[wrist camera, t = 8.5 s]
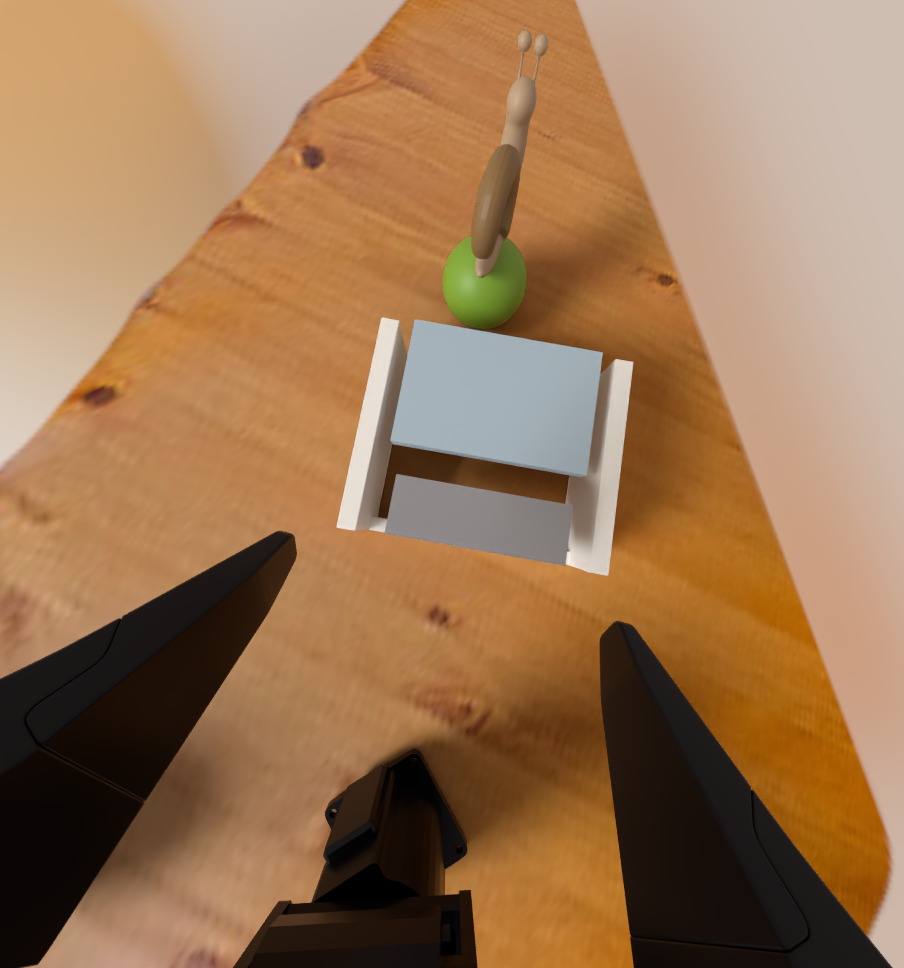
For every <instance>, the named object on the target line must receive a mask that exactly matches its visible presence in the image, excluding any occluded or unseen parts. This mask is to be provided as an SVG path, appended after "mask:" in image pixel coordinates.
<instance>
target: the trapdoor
mask: <svg viewBox="0 0 904 968" xmlns="http://www.w3.org/2000/svg"><path fill="white" fill-rule="evenodd" d="M602 355H603V352H598V351H592V350H586V349H581V348H575V347H569V346H564V345H558V344H552V343H547V342H541V341H535V340H530V339H524V338H518V337H513V336H507V335H501V334H496V333H490V332H484V331H479V330H473V329H467V328H462V327H456V326H450V325H445V324H439V323H433V322H428V321H422V320H416V319H415V321H414V326H413V331H412V336H411V341H410V346H409V351H408V356H407V361H406V366H405V371H404V375H403V380H402V385H401V390H400V395H399V400H398V405H397V410H396V415H395V420H394V425H393V430H392V435H391V439H390V441H391V442H392V444H396V445H401V446H407V447H412V448H418V449H424V450H429V451H435V452H441V453H446V454H452V455H458V456H463V457H469V458H474V459H480V460H486V461H491V462H497V463H503V464H508V465H514V466H520V467H525V468H531V469H536V470H542V471H548V472H553V473H559V474H565V475H570V476H576V477H583V476H586V475H587V471H588V463H589V455H590V448H591V440H592V432H593V424H594V417H595V409H596V401H597V394H598V386H599V378H600V371H601V363H602ZM572 512H573V505H568V504H563V503H557V502H552V501H546V500H540V499H535V498H529V497H523V496H518V495H512V494H507V493H501V492H495V491H490V490H484V489H478V488H473V487H467V486H462V485H456V484H450V483H445V482H439V481H433V480H428V479H422V478H416V477H411V476H405V475H400V474H396V478H395V483H394V488H393V493H392V498H391V503H390V508H389V513H388V518H387V523H386V528H385V533H384V534H390V535H396V536H401V537H407V538H412V539H418V540H424V541H429V542H435V543H441V544H446V545H452V546H457V547H463V548H469V549H474V550H480V551H485V552H491V553H497V554H502V555H508V556H514V557H519V558H525V559H530V560H536V561H542V562H547V563H553V564H558V565H564V566H565V564H566V557H567V549H568V542H569V534H570V527H571V519H572Z"/></svg>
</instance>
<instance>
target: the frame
mask: <svg viewBox="0 0 904 968" xmlns="http://www.w3.org/2000/svg"><path fill="white" fill-rule="evenodd" d="M406 361H407V353H406V348H405V344H404V340H403V335H402V331H401V327H400V323H399V320H393V319H387V318H382V319H381V323H380V328H379V332H378V337H377V342H376V346H375V351H374V356H373V360H372V365H371V369H370V374H369V379H368V383H367V388H366V393H365V397H364V402H363V406H362V411H361V416H360V420H359V425H358V430H357V434H356V439H355V444H354V448H353V453H352V457H351V462H350V467H349V471H348V476H347V481H346V485H345V490H344V494H343V499H342V504H341V508H340V513H339V518H338V522H337V528H343V529H349V530H354V531H357V530H367V529H369V530H375V531H380V532H385V528H386V523H387V519H386V518H380V517H378V513H379V508H380V503H381V498H382V493H383V488H384V483H385V478H386V473H387V468H388V463H389V458H390V454H391V449H392V442H391V441H390V439H391V435H392V430H393V425H394V420H395V415H396V410H397V405H398V400H399V395H400V390H401V385H402V380H403V375H404V371H405V366H406ZM632 369H633V362H631V361H625V360H619V359H615V360H614V361H613V362H612V363H611V364H610V365H609V366H608V367H607V368H606V369H605V370H604V371H603V372H602V373H601V374H600V378H599V386H598V394H597V401H596V409H595V417H594V424H593V432H592V440H591V448H590V455H589V463H588V471H587V475H586V476H583V477H576V476H570V475H569V480H568V488H567V495H566V502H565V504H568V505H573V512H572V519H571V527H570V534H569V542H568V549H567V557H566V564H565V565H570V566H573V567H575V568H578V569H581V570H584V571H587V572H590V573H596V574H601V575H607V576H608V572H609V564H610V556H611V547H612V539H613V530H614V522H615V513H616V505H617V496H618V488H619V479H620V471H621V462H622V454H623V445H624V437H625V429H626V420H627V412H628V403H629V395H630V386H631V378H632Z"/></svg>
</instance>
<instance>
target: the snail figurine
mask: <svg viewBox="0 0 904 968" xmlns="http://www.w3.org/2000/svg"><path fill="white" fill-rule="evenodd" d="M531 43H532V36H531V33H530V32H529V31H528V30H524V31H522V32H521V34H520V36H519V39H518V47H519V50H520V51H521V52H522V56H521V63H520V69H519V74H518V78H517V80H516V81H515V82H514V84H513V85H512V87H511V89H510V91H509V94H508V99H507V117H506V123H505V127H504V131H503V136H502V140H501V145H500V147H498V148H497V149H496V150H495V152H494V153H493V154H492V156H491V158H490V160H489V163H488V165H487V168H486V170H485V172H484V174H483V177H482V179H481V183H480V186H479V190H478V194H477V198H476V203H475V208H474V213H473V219H472V229H471V235H470V236H468V237H467V238H465V239H464V240H462V241H461V242H460V243H459V244H458V245H457V246H456V247H455V248H454V250H453V251H452V253H451V254H450V256H449V258H448V260H447V263H446V266H445V269H444V274H443V292H444V296H445V300H446V303H447V305H448V307H449V309H450V311H451V312H452V314H453V315H454V316H455V317H456V318H457V319H458V320H459V321H460V322H461V323H463V324H465V325H466V326H469V327H471V328H475V329H491V328H494V327H497V326H499V325H501V324H503V323H504V322H506V321H507V320H508V319H510V318H511V317H512V316H513V314H514V313H515V312H516V311H517V309H518V308H519V306H520V304H521V302H522V300H523V297H524V294H525V290H526V284H527V272H526V266H525V262H524V259H523V257H522V254H521V252H520V251H519V249H518V248H517V246H516V245H515V244H514V243H513V242H512V241H511V240H510V239H508V238H507V236H508V234H509V231H510V227H511V222H512V218H513V213H514V208H515V203H516V198H517V193H518V187H519V180H520V172H521V167H522V162H523V158H524V153H525V148H526V142H527V135H528V128H529V123H530V119H531V117H532V114H533V111H534V108H535V105H536V88H535V79H536V74H537V69H538V64H539V60H540V57H541V56H543V55H544V54H545V53H546V51H547V48H548V39H547V37H546V36H545V35H544V34H541V35H539V36H538V37H537V38H536V40H535V44H534V51H535V54H536V55H537V56H538V59H537V64H536V69H535V73H534V78H533V80H531V78H529V77H527V76H523V77H521V69H522V63H523V56H524V52H527V51H528V50H529V48H530V46H531Z"/></svg>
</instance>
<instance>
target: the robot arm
mask: <svg viewBox="0 0 904 968" xmlns="http://www.w3.org/2000/svg"><path fill="white" fill-rule="evenodd" d="M296 556H297V551H296V543H295V537H294V535H293V534H291V533H287V532H283V531H277V532H275V533H273V534H271V535H269V536H267V537H265V538H264V539H262V540H260V541H258V542H256V543H255V544H253V545H251V546H249V547H247V548H246V549H244V550H242V551H240V552H238V553H236V554H235V555H233V556H231V557H229V558H227V559H226V560H224V561H222V562H220V563H218V564H216V565H215V566H213V567H211V568H209V569H207V570H206V571H204V572H202V573H200V574H198V575H196V576H195V577H193V578H191V579H189V580H187V581H186V582H184V583H182V584H180V585H178V586H177V587H175V588H173V589H171V590H169V591H167V592H166V593H164V594H162V595H160V596H158V597H157V598H155V599H153V600H151V601H149V602H147V603H146V604H144V605H142V606H140V607H138V608H137V609H135V610H133V611H131V612H129V613H127V614H126V615H124V616H123V617H122V618H121V619H120V618H119V619H116V620H115V621H113V622H111V623H109V624H107V625H105V626H104V627H102V628H100V629H98V630H96V631H94V632H93V633H91V634H89V635H87V636H85V637H83V638H81V639H79V640H77V641H76V642H74V643H72V644H70V645H68V646H66V647H64V648H62V649H60V650H58V651H56V652H54V653H52V654H50V655H48V656H46V657H44V658H42V659H40V660H38V661H36V662H34V663H32V664H30V665H28V666H26V667H24V668H22V669H20V670H18V671H15V672H13V673H11V674H9V675H7V676H5V677H3V678H1V679H0V968H24V967H30V966H35V965H38V964H39V963H40V961H41V960H42V958H43V957H44V956H45V954H46V953H47V951H48V950H49V948H50V947H51V945H52V944H53V942H54V941H55V939H56V938H57V936H58V935H59V933H60V932H61V930H62V929H63V927H64V925H65V924H66V922H67V921H68V919H69V918H70V916H71V915H72V913H73V912H74V910H75V909H76V907H77V906H78V904H79V902H80V901H81V899H82V898H83V896H84V895H85V893H86V892H87V890H88V889H89V887H90V886H91V884H92V883H93V881H94V880H95V878H96V876H97V875H98V873H99V872H100V870H101V869H102V867H103V866H104V864H105V863H106V861H107V860H108V858H109V857H110V855H111V854H112V852H113V850H114V849H115V847H116V846H117V844H118V843H119V841H120V840H121V838H122V837H123V835H124V834H125V832H126V831H127V829H128V827H129V826H130V824H131V823H132V821H133V820H134V818H135V817H136V815H137V814H138V812H139V811H140V809H141V808H142V806H143V805H144V801H145V800H146V799H147V798H148V796H149V795H150V793H151V792H152V790H153V789H154V787H155V786H156V784H157V783H158V781H159V780H160V778H161V777H162V775H163V774H164V772H165V770H166V769H167V767H168V766H169V764H170V763H171V761H172V760H173V758H174V757H175V755H176V754H177V752H178V751H179V749H180V748H181V746H182V744H183V743H184V741H185V740H186V738H187V737H188V735H189V734H190V732H191V731H192V729H193V728H194V726H195V725H196V723H197V721H198V720H199V718H200V717H201V715H202V714H203V712H204V711H205V709H206V708H207V706H208V705H209V703H210V702H211V700H212V699H213V697H214V695H215V694H216V692H217V691H218V689H219V688H220V686H221V685H222V683H223V682H224V680H225V679H226V677H227V676H228V674H229V673H230V671H231V669H232V668H233V666H234V665H235V663H236V662H237V660H238V659H239V657H240V656H241V654H242V653H243V651H244V650H245V648H246V647H247V645H248V643H249V642H250V640H251V639H252V637H253V636H254V634H255V633H256V631H257V630H258V628H259V627H260V625H261V624H262V622H263V620H264V619H265V617H266V616H267V614H268V612H269V611H270V609H271V607H272V605H273V603H274V601H275V599H276V597H277V595H278V593H279V592H280V590H281V588H282V586H283V584H284V582H285V580H286V578H287V576H288V574H289V572H290V570H291V568H292V566H293V564H294V562H295V560H296ZM600 687H601V705H602V715H603V723H604V731H605V739H606V747H607V755H608V763H609V771H610V779H611V787H612V795H613V803H614V811H615V819H616V826H617V834H618V842H619V850H620V858H621V866H622V874H623V882H624V890H625V898H626V906H627V914H628V922H629V930H630V935H631V937H630V940H631V948H632V956H633V964H634V968H892V967H891V965H890V964H889V963H888V962H887V961H886V959H885V958H884V957H883V956H882V954H881V953H880V952H879V951H878V949H877V948H876V947H875V946H874V944H873V943H872V942H871V941H870V939H869V938H868V937H867V936H866V934H865V933H864V932H863V931H862V929H861V928H860V927H859V926H858V925H857V923H856V922H855V921H854V920H853V918H852V917H851V916H850V915H849V913H848V912H847V911H846V910H845V908H844V907H843V906H842V905H841V903H840V902H839V901H838V900H837V898H836V897H835V896H834V895H833V894H832V892H831V891H830V890H829V889H828V887H827V886H826V885H825V884H824V882H823V881H822V880H821V878H820V877H819V876H818V875H817V873H816V872H815V871H814V870H813V868H812V867H811V866H810V864H809V863H808V862H807V861H806V859H805V858H804V857H803V856H802V854H801V853H800V852H799V851H798V849H797V848H796V847H795V845H794V844H793V843H792V841H791V840H790V839H789V837H788V836H787V835H786V833H785V832H784V831H783V829H782V828H781V827H780V825H779V824H778V823H777V821H776V820H775V819H774V817H773V816H772V815H771V813H770V812H769V811H768V809H767V808H766V807H765V805H764V804H763V802H762V801H761V800H760V798H759V797H758V796H757V794H756V793H755V792H754V791H753V790H751V787H750V785H749V784H748V782H747V781H746V779H745V778H744V777H743V775H742V774H741V773H740V771H739V770H738V768H737V767H736V766H735V764H734V763H733V762H732V760H731V759H730V758H729V756H728V755H727V753H726V752H725V751H724V749H723V748H722V747H721V745H720V744H719V742H718V741H717V740H716V738H715V737H714V736H713V734H712V733H711V732H710V730H709V729H708V727H707V726H706V725H705V723H704V722H703V721H702V719H701V718H700V717H699V715H698V714H697V712H696V711H695V710H694V708H693V707H692V706H691V704H690V703H689V701H688V700H687V699H686V697H685V696H684V695H683V693H682V692H681V691H680V689H679V688H678V686H677V685H676V684H675V682H674V681H673V680H672V678H671V677H670V675H669V674H668V673H667V671H666V670H665V669H664V667H663V666H662V665H661V663H660V662H659V660H658V659H657V658H656V656H655V655H654V654H653V652H652V651H651V649H650V648H649V647H648V645H647V644H646V643H645V641H644V640H643V639H642V637H641V636H640V634H639V633H638V632H637V630H636V629H635V628H634V627H633V626H632V625H630V624H628V623H624V622H620V621H615V622H614V623H613V624H612V625H611V626H610V627H609V628H608V629H607V630H606V631H605V632H604V633H603V634H602V636H601V638H600ZM412 758H416V759H417V760H418V761H417V762H412V761H411V759H412ZM332 809H336V810H337V812H336V813H335V812H333V811H332ZM325 817H326V820H327V822H328V824H329V826H330V828H331V833H330V836H329V838H328V841H327V844H326V847H325V850H324V854H323V857H324V859H325V861H326V862H325V865H324V868H323V871H322V874H321V877H320V879H319V882H318V885H317V888H316V891H315V894H314V896H313V899H312V902H311V903H300V904H292V902H291V900H290V901H279V902H278V903H277V904H276V906H275V907H274V909H273V910H272V912H271V913H270V914H269V916H268V917H267V919H266V920H265V922H264V923H263V925H262V926H261V928H260V929H259V930H258V932H257V933H256V935H255V936H254V938H253V939H252V941H251V942H250V944H249V945H248V947H247V948H246V949H245V951H244V952H243V954H242V955H241V957H240V958H239V960H238V961H237V963H236V964H235V965H234V967H233V968H477V957H476V946H475V934H474V923H473V911H472V899H471V890H461V891H459V894H453V895H445V869H446V868H448V867H449V866H451V865H452V864H454V863H455V862H457V861H458V860H460V859H461V858H463V857H464V856H465V855H466V853H467V840H466V838H465V836H464V834H463V832H462V830H461V828H460V826H459V824H458V822H457V820H456V818H455V817H454V815H453V813H452V811H451V809H450V807H449V805H448V803H447V801H446V799H445V798H444V796H443V794H442V792H441V790H440V788H439V786H438V784H437V782H436V780H435V778H434V777H433V775H432V773H431V771H430V769H429V767H428V765H427V763H426V761H425V759H424V758H423V756H422V754H421V752H420V751H418V750H416V749H413V750H410V751H409V752H407V753H406V754H404V755H403V756H401V757H399V758H398V759H396V760H395V761H393V762H391V763H390V764H388V765H381V766H379V767H378V768H376V769H375V770H373V771H372V772H370V773H368V774H367V775H365V776H364V777H362V778H360V779H359V780H357V781H356V782H354V783H353V784H351V785H349V786H348V787H347V790H346V792H344V793H342V794H341V795H339V796H338V797H336V798H335V799H333V800H331V801H330V802H329V804H328V806H327V809H326V811H325ZM458 844H459V845H462V846H461V847H456V845H458Z"/></svg>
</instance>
